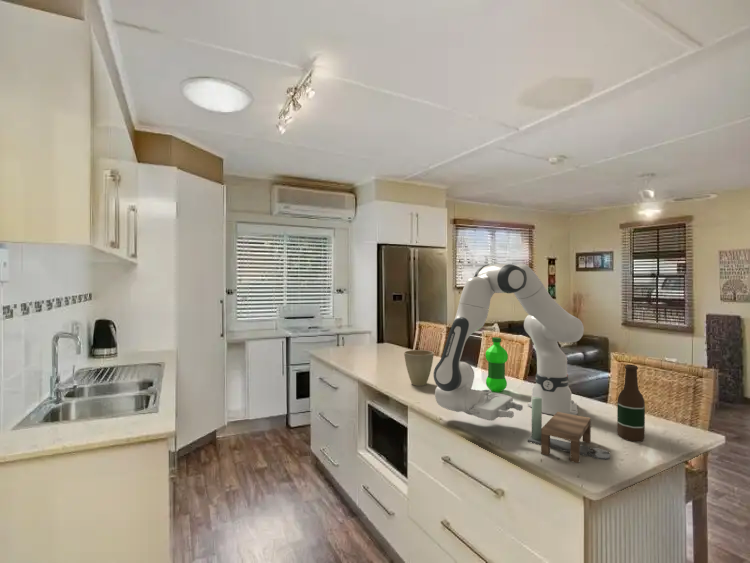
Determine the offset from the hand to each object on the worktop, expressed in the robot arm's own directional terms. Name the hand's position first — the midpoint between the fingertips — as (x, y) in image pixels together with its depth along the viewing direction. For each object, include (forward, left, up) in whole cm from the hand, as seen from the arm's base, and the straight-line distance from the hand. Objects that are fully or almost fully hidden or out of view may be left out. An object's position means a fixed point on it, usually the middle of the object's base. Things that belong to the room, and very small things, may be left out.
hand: (517, 411), depth 132 cm
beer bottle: (-22, +30, -8) cm, 38 cm away
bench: (0, +15, -8) cm, 17 cm away
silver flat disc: (0, +24, -8) cm, 25 cm away
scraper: (0, +13, -8) cm, 15 cm away
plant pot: (-37, -61, -8) cm, 72 cm away
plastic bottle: (-50, -26, -8) cm, 57 cm away
